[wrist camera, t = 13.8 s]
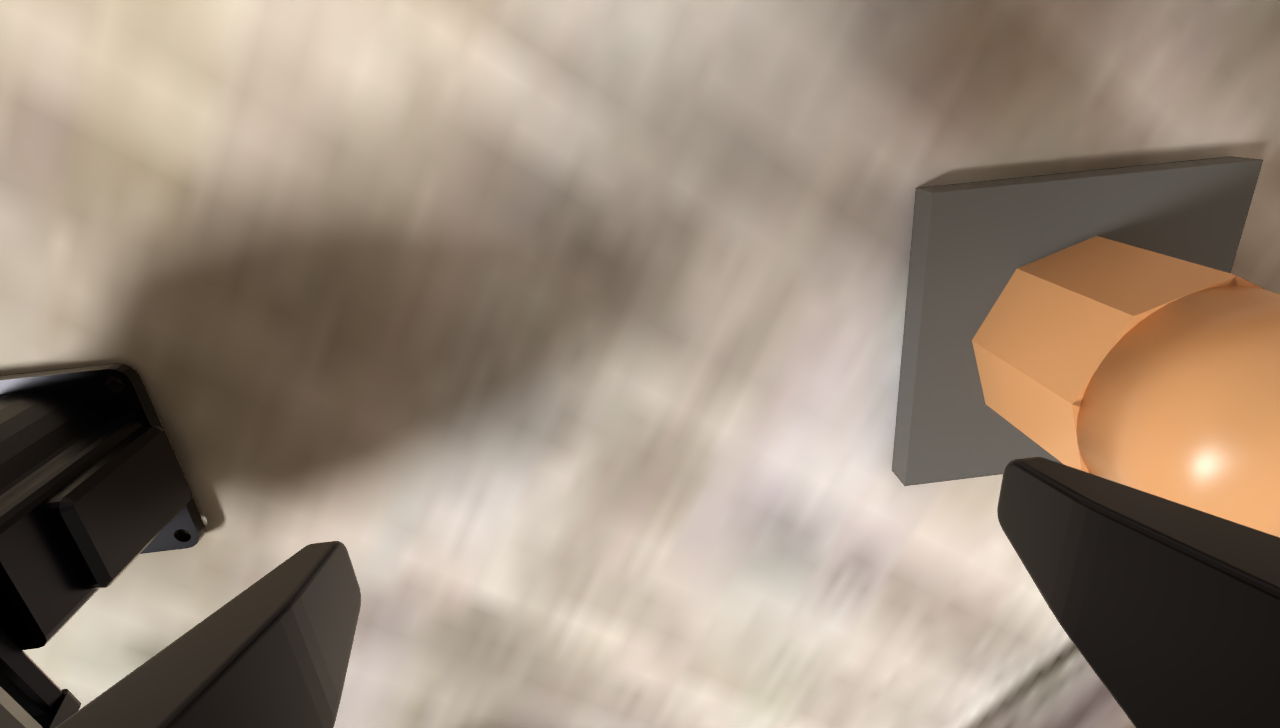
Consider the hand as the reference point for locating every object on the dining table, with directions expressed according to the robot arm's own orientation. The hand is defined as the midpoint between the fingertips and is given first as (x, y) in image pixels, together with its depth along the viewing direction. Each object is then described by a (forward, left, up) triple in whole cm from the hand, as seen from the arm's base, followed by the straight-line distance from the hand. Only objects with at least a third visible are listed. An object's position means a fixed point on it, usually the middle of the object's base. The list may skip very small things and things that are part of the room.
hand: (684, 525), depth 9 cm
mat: (+14, -3, -12) cm, 19 cm away
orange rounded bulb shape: (+14, -3, -11) cm, 18 cm away
